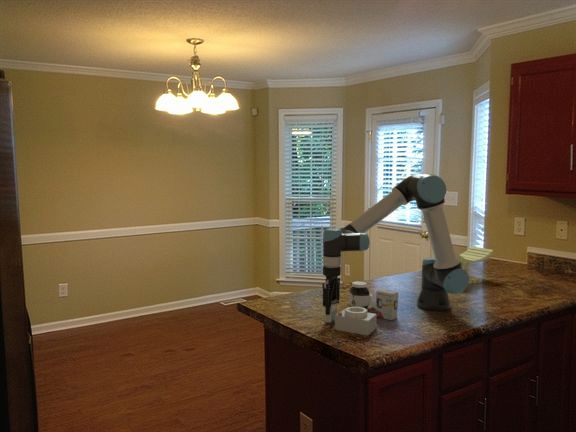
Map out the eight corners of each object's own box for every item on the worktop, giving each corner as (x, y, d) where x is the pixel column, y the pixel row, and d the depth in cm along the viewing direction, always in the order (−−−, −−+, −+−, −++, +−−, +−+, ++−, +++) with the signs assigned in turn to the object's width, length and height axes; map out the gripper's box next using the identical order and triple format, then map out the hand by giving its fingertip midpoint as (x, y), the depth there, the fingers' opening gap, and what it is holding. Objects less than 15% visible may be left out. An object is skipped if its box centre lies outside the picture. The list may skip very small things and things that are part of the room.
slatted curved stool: (468, 274, 299) (470, 245, 297) (491, 280, 286) (493, 249, 284) (434, 280, 283) (436, 250, 281) (457, 286, 270) (459, 254, 268)
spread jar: (346, 305, 232) (346, 281, 231) (366, 302, 237) (367, 279, 236) (359, 312, 222) (360, 287, 220) (380, 309, 226) (381, 285, 225)
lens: (338, 322, 208) (338, 299, 207) (333, 325, 204) (334, 301, 203) (328, 320, 210) (328, 297, 209) (323, 323, 206) (323, 300, 205)
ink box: (374, 316, 215) (375, 290, 214) (380, 314, 219) (381, 288, 218) (392, 320, 210) (393, 294, 209) (397, 318, 214) (398, 291, 212)
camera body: (376, 328, 200) (376, 309, 199) (367, 335, 192) (368, 315, 191) (344, 322, 207) (344, 304, 206) (334, 329, 198) (335, 310, 198)
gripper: (332, 261, 214) (331, 313, 216) (314, 268, 199) (313, 324, 201) (348, 263, 210) (347, 315, 213) (331, 270, 195) (330, 327, 197)
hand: (331, 319), depth 207 cm, fingers closed on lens, 4 cm apart
